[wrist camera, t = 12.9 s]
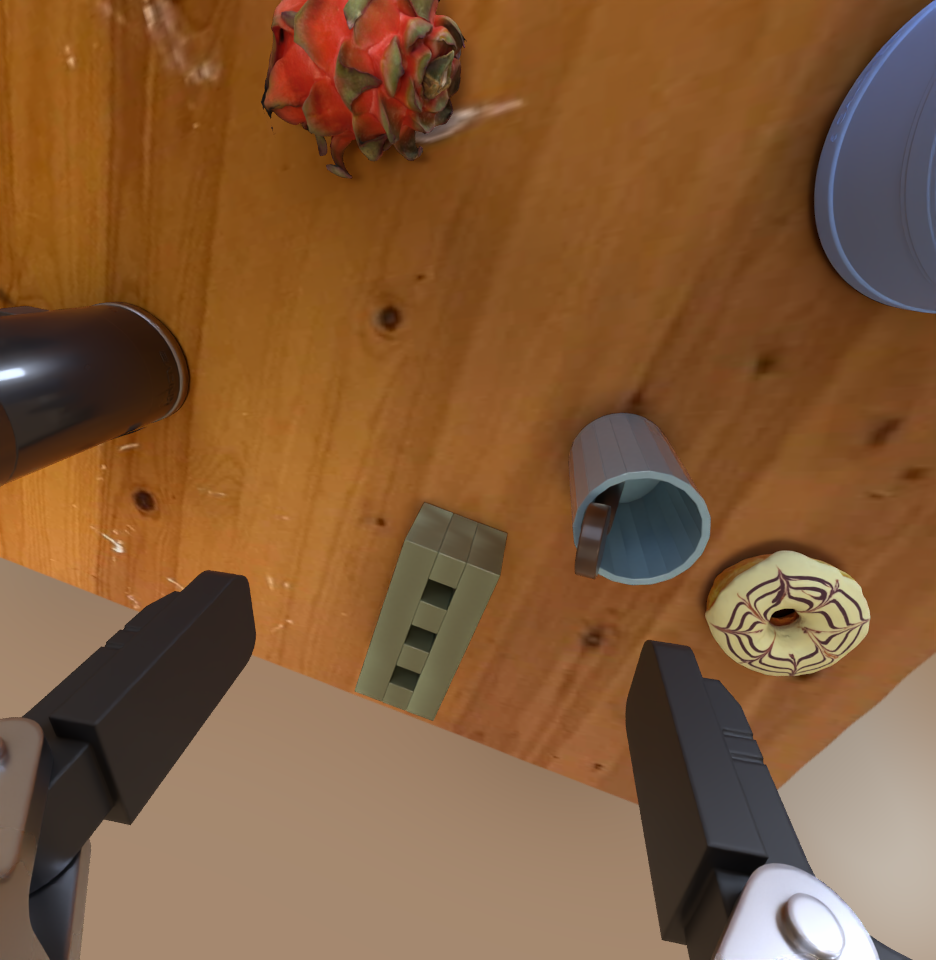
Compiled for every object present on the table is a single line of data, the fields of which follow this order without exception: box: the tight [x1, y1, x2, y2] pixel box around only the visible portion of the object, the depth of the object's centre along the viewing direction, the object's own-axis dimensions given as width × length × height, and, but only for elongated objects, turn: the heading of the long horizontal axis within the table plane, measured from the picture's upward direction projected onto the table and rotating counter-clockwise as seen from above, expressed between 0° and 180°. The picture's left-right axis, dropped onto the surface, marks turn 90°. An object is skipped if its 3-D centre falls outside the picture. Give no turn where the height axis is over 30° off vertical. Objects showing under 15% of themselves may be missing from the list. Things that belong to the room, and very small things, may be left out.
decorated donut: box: [705, 550, 870, 676], centre depth 38 cm, size 10×11×4 cm
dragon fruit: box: [261, 0, 465, 178], centre depth 27 cm, size 8×8×12 cm
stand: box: [355, 503, 507, 721], centre depth 42 cm, size 7×17×6 cm, turn 161°
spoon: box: [575, 481, 625, 579], centre depth 31 cm, size 4×1×14 cm, turn 178°
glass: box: [569, 413, 711, 585], centre depth 32 cm, size 7×7×10 cm
